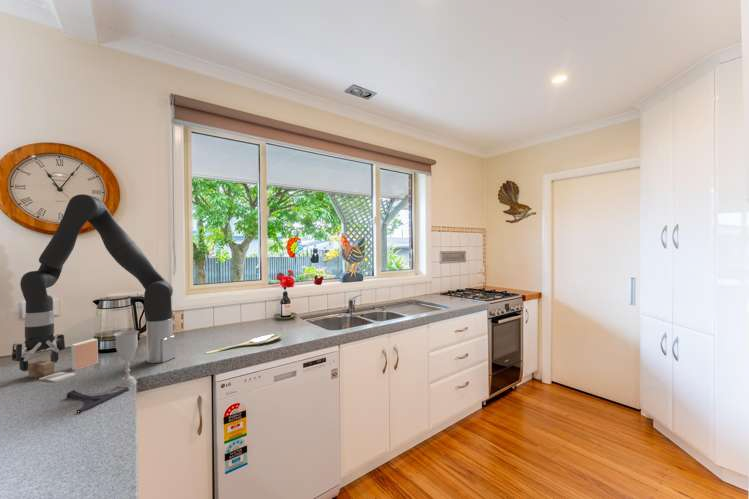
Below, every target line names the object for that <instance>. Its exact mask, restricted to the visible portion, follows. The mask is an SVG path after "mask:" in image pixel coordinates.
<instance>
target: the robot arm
mask: <svg viewBox="0 0 749 499" xmlns="http://www.w3.org/2000/svg"><path fill="white" fill-rule="evenodd" d="M87 222H88V223H89V224H90V225H91V226H92V227H93V228H94V229H95V231H96V232H97V233H98V235H99V236H100V239H101V241H102V243H103V245H104V248H105V249H106V251H107V252H108V254H109V255H110V256H111V257H112V259H114V260H115V261H116V263H117V264H118V265H120V266H121V268H123V269H124V270H126V272H128V273H130V275H132V276H133V277H134V278H135V279H137V281H138V282H139V283H140V284H141V285H142V287H143V289H144V295H143V296H144V297H143V301H144V315H145V323H146V324H145V325H146V330H145V332H146V361H147V363H149V364H158V363H165V362H167V361H170V360H172V359H175V358H176V336H175V335H174V328H173V327H174V326H173V325H174V323H173V320H174V319H173V315H174V314H173V310H172V295H173V292H174V289H173V287H172V285H171V284H170V283H169V282H168V281H167V280H166V279H165V278H164V277H163V276H162V275H161V274H160V273H159V272H158V271H157V270H156V268H154V266H153V265H152V264H151V261H150V260H149V258H148V257H147V256H146V255H145V253H144V252H143V251H142V249H141V248H140V247H139V245H137V243H136V242H135V241H134V240H133V239H132V237H130V235H129V234H128V233H127V232H126V230H124V228H123V227H121V226H120V225H119V223H118V222H117V221H116V220H115V218H114V217H113V215H112V214H111V212H110V210H109V209H108V207H107V206H106V205H105V203H104V202H103V201H102V200H101V199H100V198H98V197H95V196H92V195H90V194H84V193H83V194H82V193H81V194H76V195H74V196H72V197H71V198H70V199H69V200H68V203H67V205H66V206H65V210H64V213H63V215H62V218H61V219H60V222H59V224H58V226H57V229H56V230H55V232H54V234H53V236H52V237H51V239H50V241H49V242H48V243H47V245H46V247H45V248H44V250H43V251H42V253H41V254H40V256H39V258H38V262H39V264H40V265H39V268H38V269H37V270H33V271H29V272H25V273H24V274H23V275H22V277H21V279H20V282H19V285H20V290H21V293H22V296H23V299H24V300H25V316H24V342H22V343H13V344H12V351H11V361H12V362H19V370H20V371H22V372H28V363H29V359H30V357H31V356H33V355H34V354H35V353H38V352H40V351H46V350H48V351H49V352H51V353H50V362H54V364H56V363H58V361H59V353H60V351H62V350H65V348H66V345H65V344H66V343H65V342H66V341H65V335H64V334H60V333H59V334H56V335H54V333H55V312H54V300H53V297H52V295H48V291H47V288H50V287H52V286H54V285H56V283H57V282H58V280H59V279H60V276H61V273H62V271H63V266H64V264H65V263H66V262H67V260H68V258H69V257H70V255H71V254H72V251H73V250H74V248H75V246H76V242H77V238H78V235H79V234H80V231H81V229H83V226H84V225H86V223H87ZM54 341H55V343H56V344H54V343H53V342H54ZM24 347H25V349H24ZM23 349H24V350H23Z"/></svg>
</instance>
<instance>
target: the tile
mask: <svg viewBox="0 0 749 499" xmlns="http://www.w3.org/2000/svg"><path fill="white" fill-rule="evenodd" d="M70 345H71V346H70V347H71V349H70V350H71V370H72V371H79V370H81V369H83V368H84V369H85V368H87V367H90V366H93V365H95V364H98V363H99V359H98V358H99V352H98V351H99V347H98V346H99V344H98V338H91V339H87V340H84V341H80V342H77V343H74V344H70Z"/></svg>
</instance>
